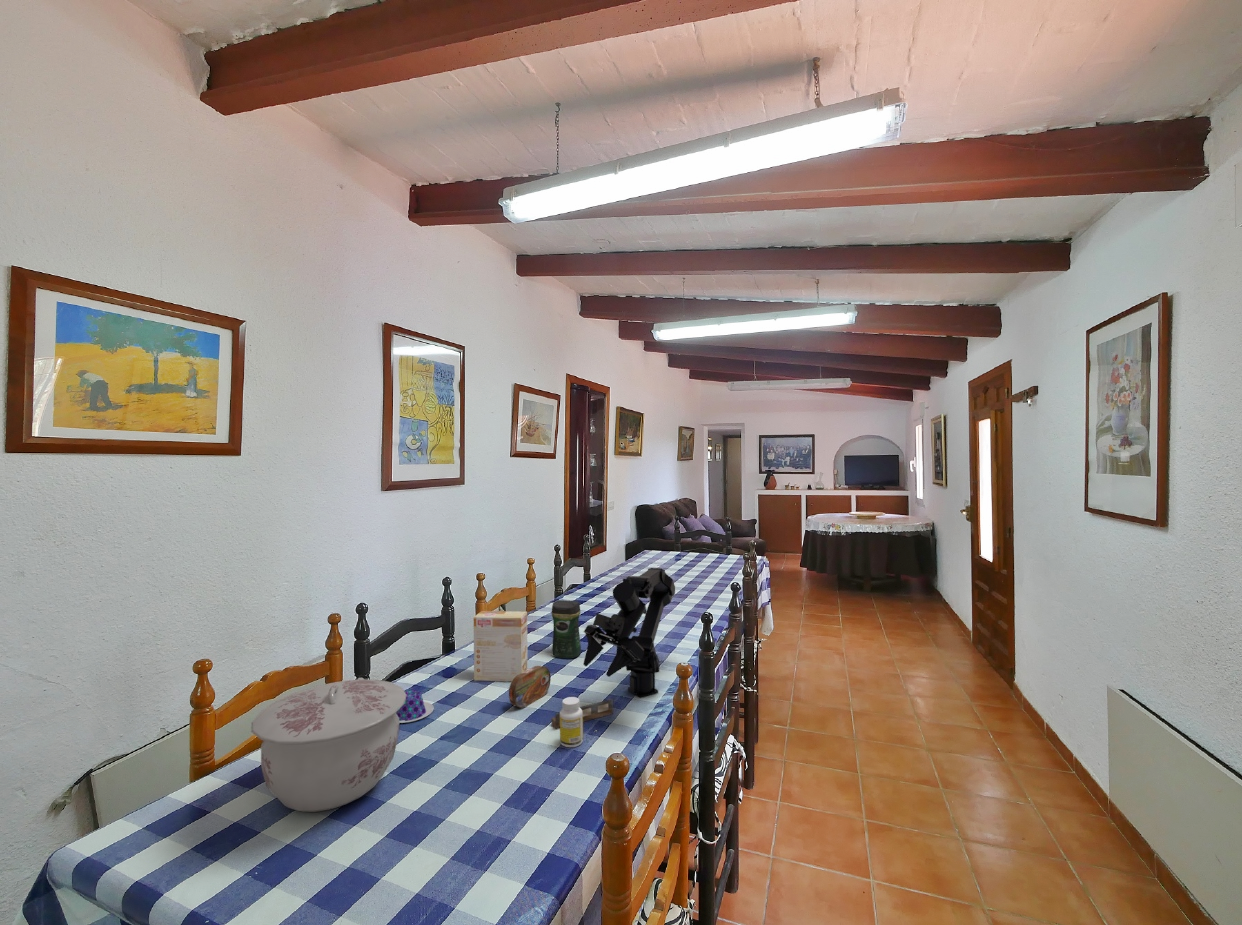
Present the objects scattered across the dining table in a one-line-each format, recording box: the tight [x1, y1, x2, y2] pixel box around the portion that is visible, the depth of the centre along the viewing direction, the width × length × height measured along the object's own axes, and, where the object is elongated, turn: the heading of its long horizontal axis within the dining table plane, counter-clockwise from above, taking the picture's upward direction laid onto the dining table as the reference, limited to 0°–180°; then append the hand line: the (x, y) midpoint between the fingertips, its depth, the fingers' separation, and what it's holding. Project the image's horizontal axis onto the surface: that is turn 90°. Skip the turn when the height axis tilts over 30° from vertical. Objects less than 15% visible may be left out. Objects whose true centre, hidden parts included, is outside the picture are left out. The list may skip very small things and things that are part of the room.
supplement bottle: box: [559, 696, 584, 748], centre depth 125 cm, size 5×5×10 cm
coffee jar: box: [551, 599, 582, 659], centre depth 182 cm, size 10×8×19 cm
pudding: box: [396, 690, 435, 724], centre depth 140 cm, size 12×12×5 cm
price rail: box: [551, 698, 614, 730], centre depth 136 cm, size 16×3×4 cm, turn 120°
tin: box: [508, 665, 552, 709], centre depth 147 cm, size 15×3×8 cm, turn 149°
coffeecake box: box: [473, 610, 529, 683], centre depth 163 cm, size 15×7×20 cm, turn 84°
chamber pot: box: [250, 677, 407, 813], centre depth 107 cm, size 28×28×21 cm
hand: (595, 670), depth 135 cm, fingers open, 9 cm apart
